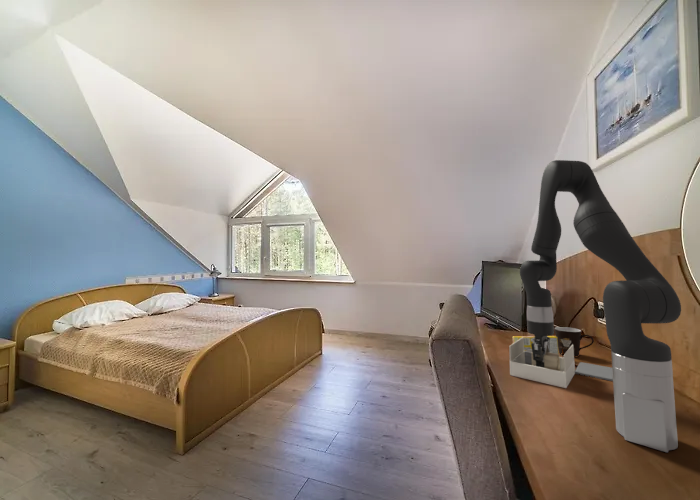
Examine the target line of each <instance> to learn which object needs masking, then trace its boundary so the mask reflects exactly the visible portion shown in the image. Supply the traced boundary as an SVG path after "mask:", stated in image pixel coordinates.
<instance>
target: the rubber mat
mask: <svg viewBox="0 0 700 500" xmlns="http://www.w3.org/2000/svg"><path fill="white" fill-rule="evenodd" d="M579 374H580V375H579ZM574 375H579V376H584V375H585V377H589V376H590V378H594V377H595V378H594V379H600V380H604V381H609V382H613V372H612V366H611V367H609V366H606V365H605V366H604V365H598V364H594V363H588V362H582V361H580V362H579V363H578V365H577V366H576V367H575V374H574Z"/></svg>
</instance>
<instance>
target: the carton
mask: <svg viewBox="0 0 700 500" xmlns="http://www.w3.org/2000/svg"><path fill="white" fill-rule="evenodd" d="M508 348H509V350H508V352H509V375H510V376H512V377H516V378H521V379H525V380H530V381H534V382H537V383H542V384H547V385H551V386H554V387H558V388H559V387H560V388H564V389H567V388H568V386H569V385H570V383H571V382H572V380H573V377H574V376H575V375H576V374H575V370H576V366H575V365H576V364H575V357H574V347H573V345H571V347H570V348H569V349H568V350H567V351H566V353H565V354H564V355H562V356H563V357H562V356H559V360H560V371H557V370H552V369H547V368H542V367H537V366H533V365H528V364H525V351H524V337H522V338H521V339H519V340H518V341H516V342H514V343H513V342H512V343H511V344H510V345H508Z"/></svg>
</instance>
